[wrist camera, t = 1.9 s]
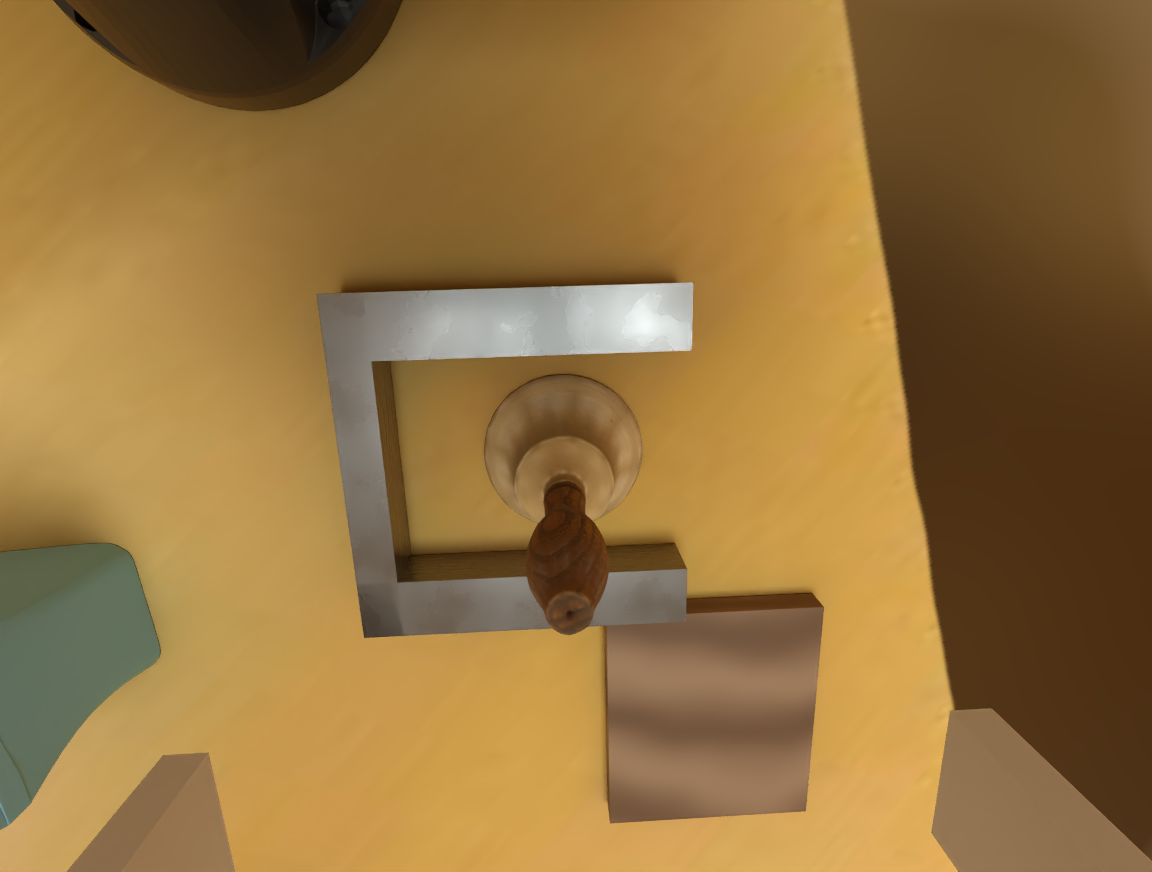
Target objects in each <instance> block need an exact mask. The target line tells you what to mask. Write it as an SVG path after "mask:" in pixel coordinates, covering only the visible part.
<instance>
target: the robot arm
mask: <svg viewBox="0 0 1152 872" xmlns="http://www.w3.org/2000/svg"><path fill="white" fill-rule="evenodd" d="M54 2H55V3H56V4H57V5H58V6H59V7H60V8H61V10H62V11H63V12H64V13H65V14H66V15H67V16H68V17H69V18H70V19H71V20H72V21H73V22H74V23H75V24H76V25H77V26H78V27H79V28H80V29H81V30H82V31H83V32H84V33H85V34H86V35H88V36H89V37H90V38H91V39H92V40H93V41H95V42H96V43H97V44H98V45H100V46H101V47H102V48H104V49H105V50H106V51H107V52H109V53H110V54H111V55H113V56H114V57H116V58H117V59H118V60H120V61H121V62H123V63H124V64H126V65H128V66H129V67H131V68H133V69H134V70H136V71H138V72H139V73H141V74H143V75H145V76H147V77H149V78H151V79H153V80H155V81H157V82H159V83H161V84H163V85H164V86H166V87H168V88H170V89H172V90H174V91H176V92H178V93H180V94H183V95H185V96H187V97H190V98H192V99H195V100H198V101H201V102H204V103H207V104H211V105H215V106H219V107H224V108H229V109H237V110H253V111H260V110H273V109H280V108H286V107H290V106H295V105H298V104H301V103H304V102H307V101H310V100H312V99H314V98H317V97H319V96H321V95H323V94H325V93H327V92H329V91H331V90H332V89H334V88H335V87H337V86H338V85H340V84H341V83H343V82H344V81H345V80H347V79H348V78H349V77H350V76H352V75H353V74H354V73H355V72H356V71H357V70H358V69H359V68H360V67H361V66H362V65H363V64H364V63H365V62H366V61H367V60H368V59H369V58H370V56H371V55H372V54H373V52H374V51H375V50H376V49H377V47H378V46H379V44H380V43H381V41H382V40H383V38H384V37H385V35H386V33H387V31H388V30H389V28H390V26H391V24H392V22H393V20H394V18H395V15H396V13H397V11H398V8H399V6H400V3H401V0H54ZM931 833H932V834H933V836H934V837H935V839H936V840H937V842H938V843H939V844H940V846H941V847H942V849H943V850H944V852H945V853H946V854H947V856H948V857H949V859H950V860H951V862H952V863H953V864H954V866H955V867H956V869H957V870H958V872H1152V861H1151V860H1150V859H1149V858H1148V857H1147V856H1146V855H1145V854H1143V853H1142V852H1141V851H1140V850H1139V849H1138V848H1137V847H1136V846H1135V845H1134V844H1133V843H1132V842H1131V841H1130V840H1129V839H1128V838H1127V837H1126V836H1125V835H1124V834H1122V833H1121V832H1120V831H1119V830H1118V829H1117V828H1116V827H1115V826H1114V825H1113V824H1112V823H1111V822H1110V821H1109V820H1108V819H1107V818H1106V817H1105V816H1104V815H1103V814H1101V813H1100V812H1099V811H1098V810H1097V809H1096V808H1095V807H1094V806H1093V805H1092V804H1091V803H1090V802H1089V801H1088V800H1087V799H1086V798H1085V797H1084V796H1083V795H1082V794H1081V793H1080V792H1078V791H1077V790H1076V789H1075V788H1074V787H1073V786H1072V785H1071V784H1070V783H1069V782H1068V781H1067V780H1066V779H1065V778H1064V777H1063V776H1062V775H1061V774H1060V773H1058V772H1057V771H1056V770H1055V769H1054V768H1053V767H1052V766H1051V765H1050V764H1049V763H1048V762H1047V761H1046V760H1045V759H1044V758H1043V757H1042V756H1041V755H1039V753H1037V751H1035V750H1034V749H1033V748H1032V747H1031V746H1030V745H1029V744H1028V743H1027V742H1026V741H1025V740H1024V739H1023V738H1022V737H1021V736H1020V735H1019V734H1018V733H1017V732H1015V730H1013V729H1012V728H1011V727H1010V726H1009V725H1008V724H1007V723H1006V722H1005V721H1004V720H1003V719H1002V718H1001V717H1000V716H999V715H998V714H997V713H996V712H995V711H993V710H992V709H974V710H956V711H950V715H949V721H948V728H947V734H946V741H945V747H944V754H943V760H942V767H941V773H940V780H939V787H938V793H937V800H936V806H935V813H934V819H933V826H932V832H931ZM67 872H235V869H234V865H233V860H232V856H231V851H230V847H229V842H228V838H227V833H226V829H225V824H224V820H223V815H222V811H221V806H220V802H219V798H218V793H217V789H216V784H215V780H214V775H213V771H212V766H211V762H210V757H209V753H195V754H178V755H163V756H162V757H161V759H160V760H159V761H158V762H157V763H156V765H155V766H154V767H153V768H152V769H151V771H150V772H149V773H148V774H147V775H146V777H145V778H144V779H143V780H142V781H141V783H140V784H139V785H138V786H137V787H136V789H135V790H134V791H133V792H132V794H131V795H130V796H129V797H128V798H127V800H126V801H125V802H124V803H123V804H122V806H121V807H120V808H119V809H118V810H117V812H116V813H115V814H114V815H113V816H112V818H111V819H110V820H109V821H108V823H107V824H106V825H105V826H104V827H103V829H102V830H101V831H100V832H99V833H98V835H97V836H96V837H95V838H94V839H93V841H92V842H91V843H90V844H89V845H88V847H87V848H86V849H85V850H84V851H83V853H82V854H81V855H80V856H79V858H78V859H77V860H76V861H75V862H74V864H73V865H72V866H71V867H70V868H69V870H68V871H67Z"/></svg>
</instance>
